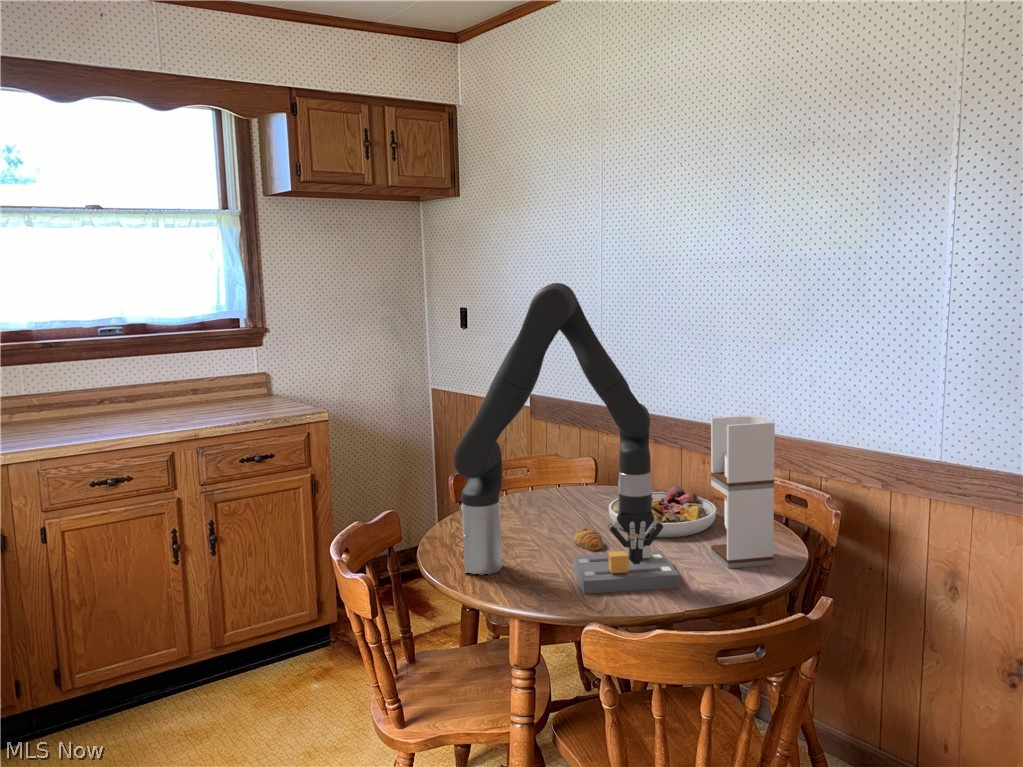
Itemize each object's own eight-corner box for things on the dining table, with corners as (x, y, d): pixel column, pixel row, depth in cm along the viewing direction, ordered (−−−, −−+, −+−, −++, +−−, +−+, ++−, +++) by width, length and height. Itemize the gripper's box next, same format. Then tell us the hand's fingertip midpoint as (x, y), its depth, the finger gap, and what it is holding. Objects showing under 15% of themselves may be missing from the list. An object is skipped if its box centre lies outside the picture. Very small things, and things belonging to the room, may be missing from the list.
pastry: (610, 549, 206) (609, 535, 206) (587, 554, 204) (587, 540, 203) (592, 538, 215) (592, 525, 214) (570, 543, 212) (570, 529, 212)
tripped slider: (611, 573, 181) (611, 556, 180) (608, 568, 184) (608, 552, 183) (628, 572, 181) (628, 555, 180) (625, 567, 184) (625, 551, 183)
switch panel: (583, 593, 178) (583, 580, 178) (573, 567, 194) (572, 555, 194) (679, 587, 180) (679, 574, 179) (661, 562, 195) (661, 550, 195)
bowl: (697, 547, 205) (697, 518, 204) (592, 532, 220) (591, 505, 219) (728, 515, 231) (728, 489, 230) (631, 503, 246) (631, 478, 245)
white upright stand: (753, 549, 202) (754, 414, 197) (773, 564, 191) (774, 422, 186) (711, 553, 200) (711, 417, 195) (728, 568, 190) (728, 425, 185)
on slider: (634, 558, 189) (633, 542, 188) (631, 554, 192) (631, 538, 191) (650, 557, 189) (650, 541, 189) (647, 553, 192) (647, 537, 192)
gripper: (609, 496, 176) (611, 571, 178) (668, 493, 177) (668, 567, 179) (603, 487, 183) (604, 559, 186) (659, 484, 184) (659, 555, 187)
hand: (636, 563), depth 182 cm, fingers closed
